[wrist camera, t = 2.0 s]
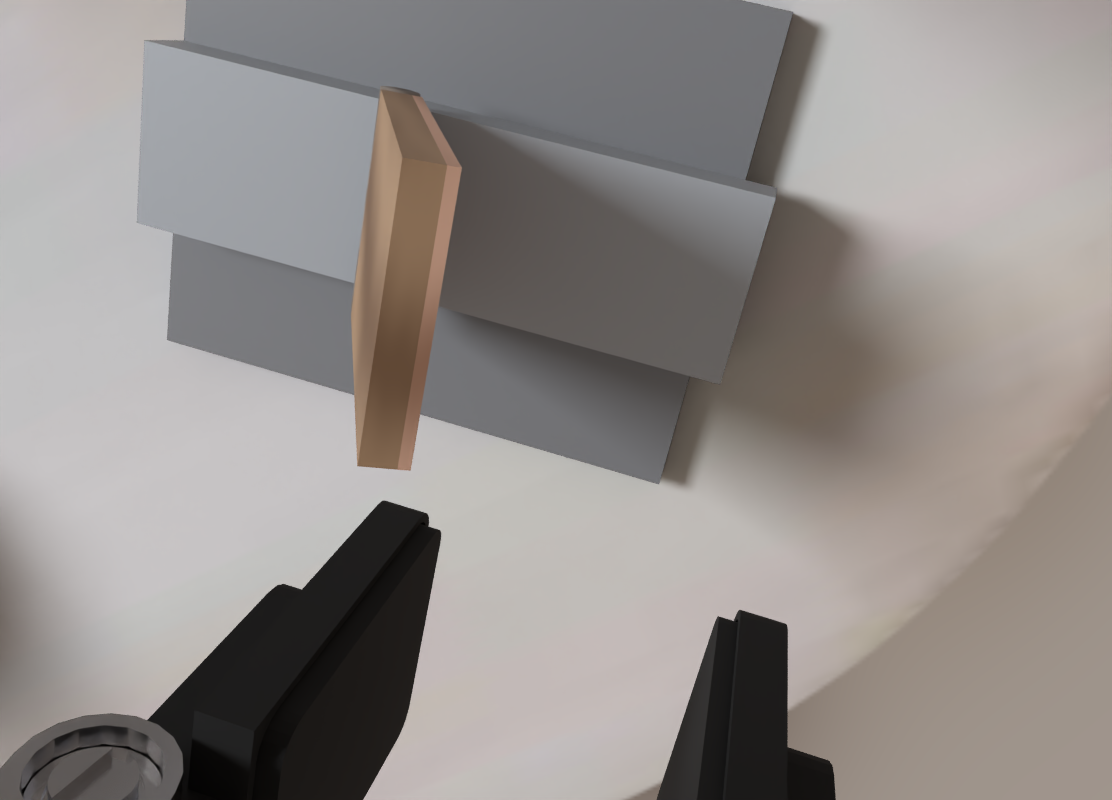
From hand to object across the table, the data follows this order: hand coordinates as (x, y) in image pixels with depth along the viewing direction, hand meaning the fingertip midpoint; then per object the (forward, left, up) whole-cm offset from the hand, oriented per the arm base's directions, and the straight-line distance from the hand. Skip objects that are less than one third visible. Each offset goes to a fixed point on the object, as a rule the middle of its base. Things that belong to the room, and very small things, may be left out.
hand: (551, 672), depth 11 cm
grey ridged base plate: (0, -9, -23) cm, 25 cm away
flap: (0, -7, -15) cm, 17 cm away
